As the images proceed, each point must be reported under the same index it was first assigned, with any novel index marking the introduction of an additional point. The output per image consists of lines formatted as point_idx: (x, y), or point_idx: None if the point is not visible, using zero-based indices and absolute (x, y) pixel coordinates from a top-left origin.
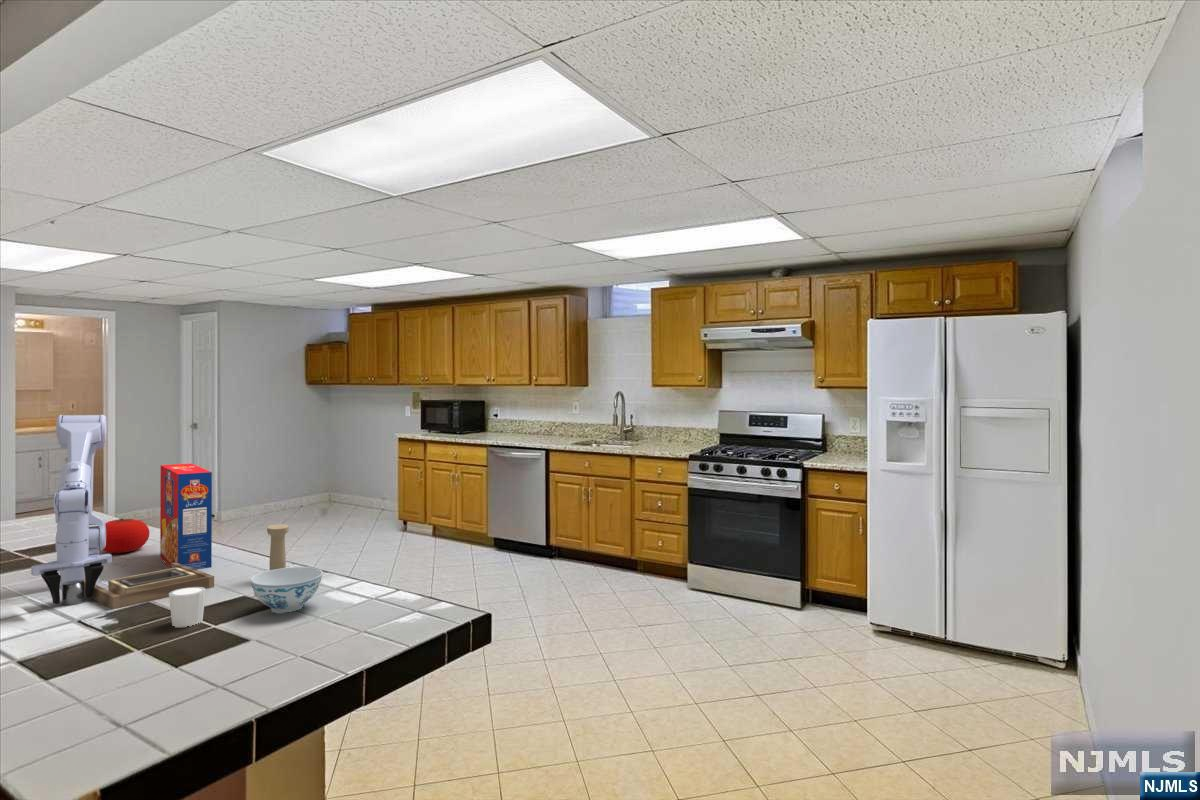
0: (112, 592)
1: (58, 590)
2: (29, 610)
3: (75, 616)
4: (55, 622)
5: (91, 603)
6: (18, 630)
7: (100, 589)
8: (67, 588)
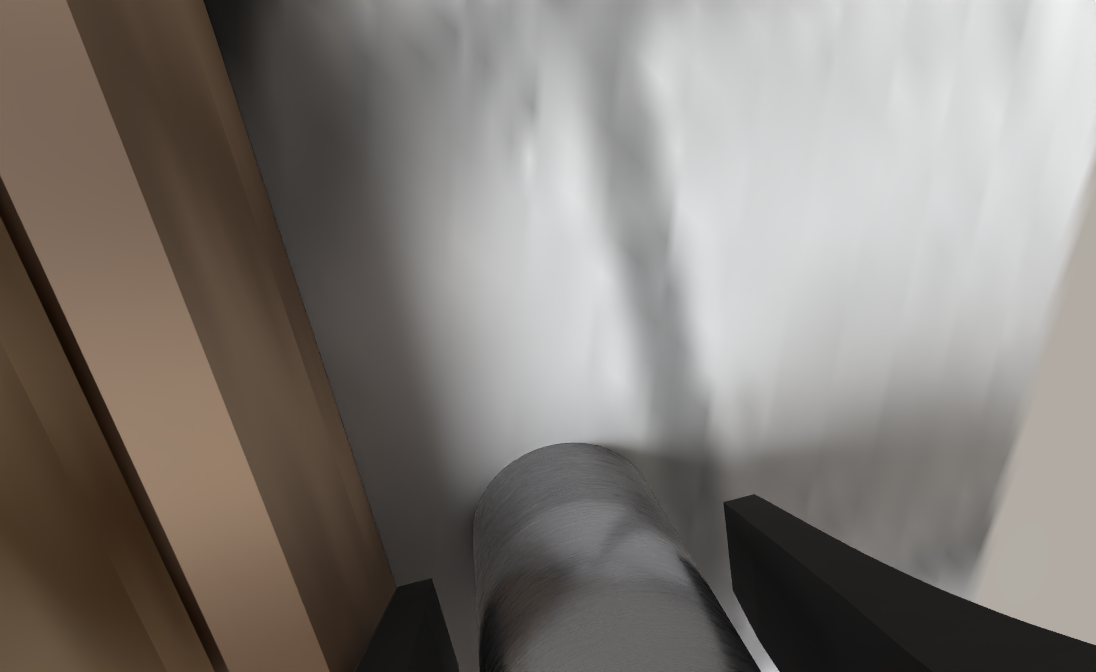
0: (134, 616)
1: (853, 595)
2: None
3: (578, 190)
4: (770, 80)
5: None
6: (1066, 31)
7: (253, 566)
8: (730, 645)
